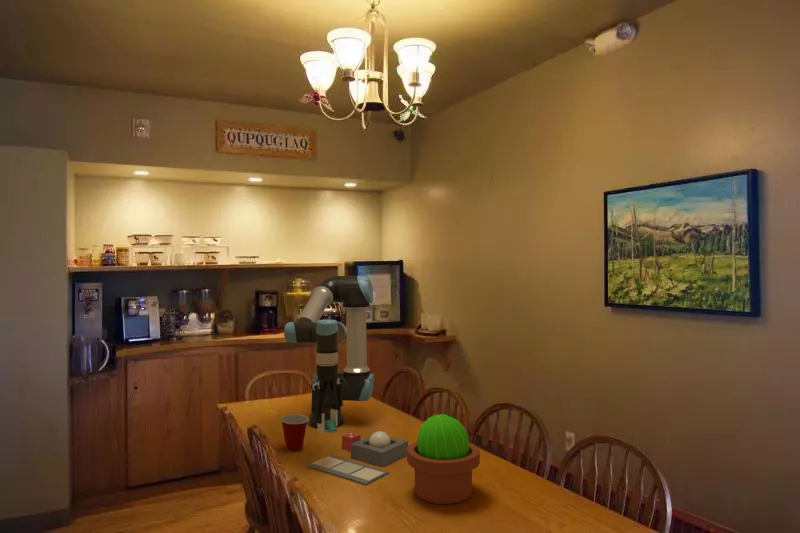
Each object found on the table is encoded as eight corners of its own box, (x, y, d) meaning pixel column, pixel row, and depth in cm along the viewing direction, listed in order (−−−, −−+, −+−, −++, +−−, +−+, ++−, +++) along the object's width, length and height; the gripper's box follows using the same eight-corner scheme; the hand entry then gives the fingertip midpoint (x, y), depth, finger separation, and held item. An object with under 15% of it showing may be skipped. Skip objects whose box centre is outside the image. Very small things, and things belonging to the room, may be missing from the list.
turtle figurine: (335, 427, 202) (334, 417, 202) (341, 433, 195) (341, 422, 195) (319, 430, 200) (319, 419, 200) (325, 435, 193) (324, 424, 193)
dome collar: (377, 446, 218) (376, 433, 218) (408, 454, 209) (408, 441, 209) (350, 457, 206) (350, 444, 206) (382, 466, 197) (382, 452, 197)
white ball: (378, 448, 213) (378, 427, 213) (395, 452, 208) (394, 430, 208) (364, 454, 207) (364, 432, 206) (381, 458, 202) (381, 436, 202)
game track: (331, 456, 207) (331, 454, 207) (389, 473, 191) (389, 471, 191) (307, 466, 198) (306, 464, 198) (365, 485, 181) (365, 482, 181)
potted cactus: (430, 514, 160) (430, 427, 160) (395, 486, 180) (395, 408, 179) (493, 498, 171) (493, 416, 170) (453, 474, 190) (453, 400, 190)
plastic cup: (303, 454, 209) (303, 422, 209) (276, 452, 212) (275, 421, 211) (313, 445, 220) (313, 414, 220) (287, 443, 222) (287, 412, 222)
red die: (350, 445, 219) (350, 432, 219) (360, 447, 216) (360, 434, 216) (342, 448, 215) (341, 435, 215) (351, 451, 212) (351, 437, 212)
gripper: (338, 359, 208) (338, 422, 208) (299, 366, 193) (300, 434, 194) (353, 361, 203) (353, 425, 203) (314, 369, 189) (315, 438, 189)
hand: (327, 429), depth 199 cm, fingers closed on turtle figurine, 6 cm apart
